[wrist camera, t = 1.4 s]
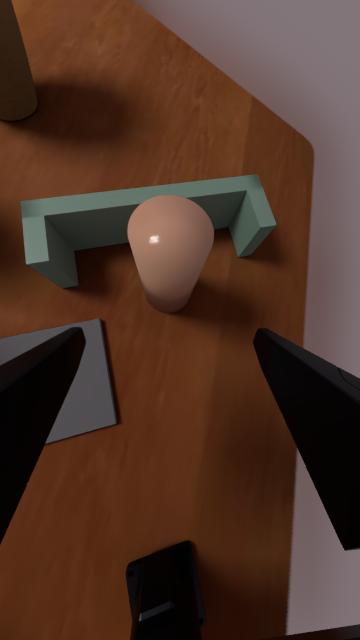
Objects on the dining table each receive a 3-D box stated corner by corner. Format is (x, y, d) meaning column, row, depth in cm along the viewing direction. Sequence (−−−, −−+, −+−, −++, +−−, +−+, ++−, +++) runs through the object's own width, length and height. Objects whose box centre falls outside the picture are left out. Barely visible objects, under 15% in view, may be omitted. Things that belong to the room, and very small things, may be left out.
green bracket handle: (250, 254, 26) (276, 225, 20) (62, 288, 22) (26, 264, 16) (237, 214, 27) (257, 174, 21) (56, 239, 23) (20, 201, 18)
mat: (117, 421, 20) (115, 423, 19) (-1, 454, 18) (-6, 458, 18) (100, 319, 22) (99, 318, 21) (-6, 341, 20) (-11, 341, 20)
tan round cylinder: (195, 307, 23) (224, 262, 12) (150, 317, 23) (136, 278, 11) (184, 266, 24) (201, 190, 13) (141, 274, 24) (120, 200, 12)
